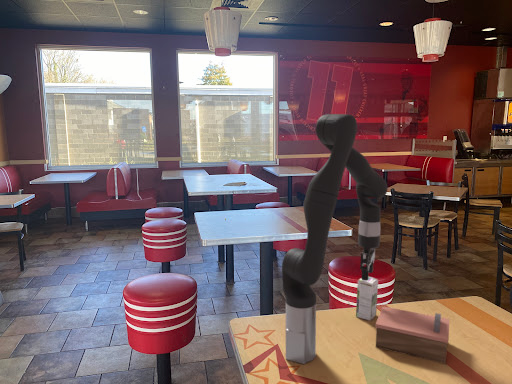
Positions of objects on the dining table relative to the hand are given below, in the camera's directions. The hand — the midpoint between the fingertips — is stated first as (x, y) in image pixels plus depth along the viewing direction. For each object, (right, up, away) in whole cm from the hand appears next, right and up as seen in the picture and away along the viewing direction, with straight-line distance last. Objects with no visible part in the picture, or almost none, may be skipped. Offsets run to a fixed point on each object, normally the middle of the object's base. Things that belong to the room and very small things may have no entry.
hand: (367, 276), depth 139 cm
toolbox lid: (+9, -12, -18) cm, 23 cm away
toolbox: (+9, -18, -17) cm, 27 cm away
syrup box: (0, -16, +2) cm, 16 cm away
